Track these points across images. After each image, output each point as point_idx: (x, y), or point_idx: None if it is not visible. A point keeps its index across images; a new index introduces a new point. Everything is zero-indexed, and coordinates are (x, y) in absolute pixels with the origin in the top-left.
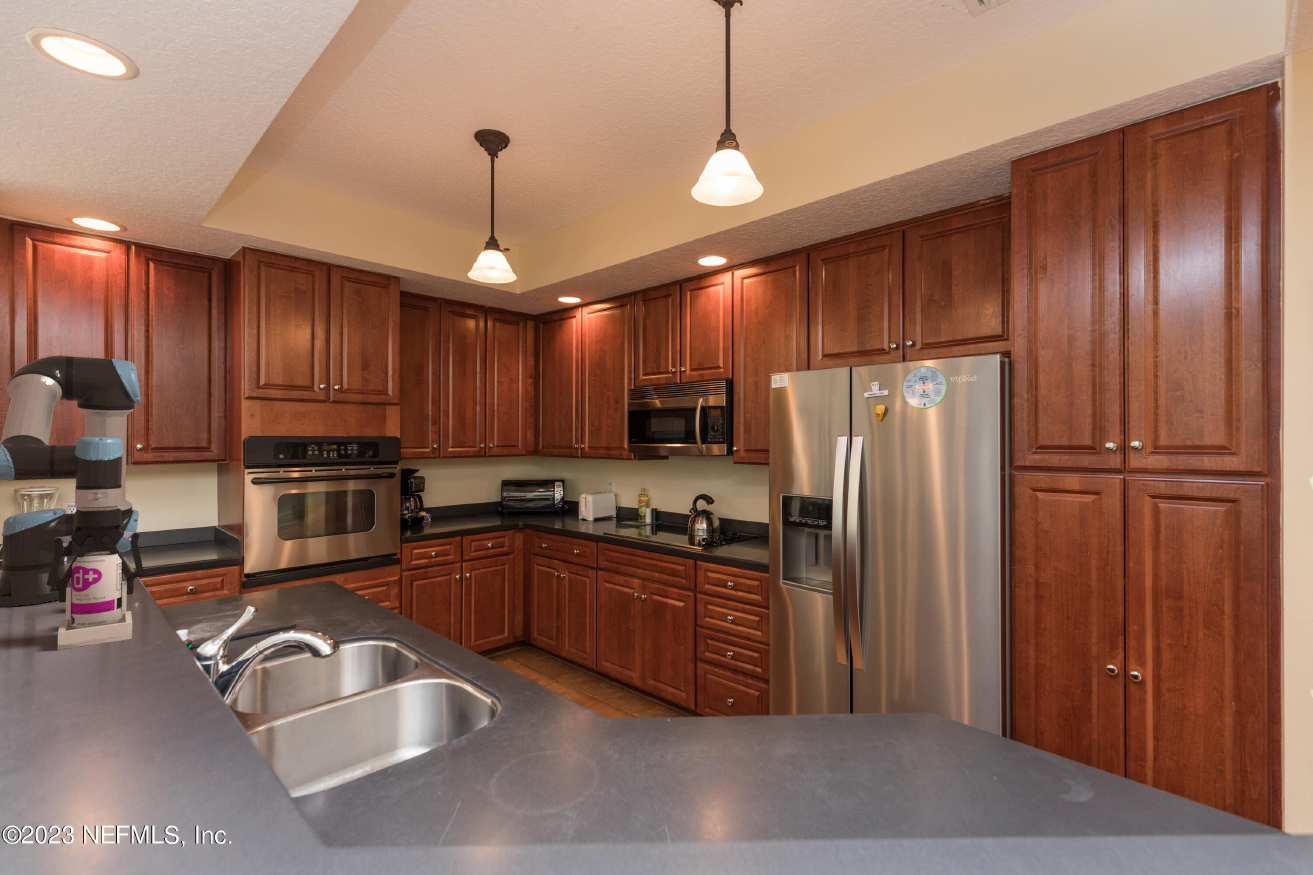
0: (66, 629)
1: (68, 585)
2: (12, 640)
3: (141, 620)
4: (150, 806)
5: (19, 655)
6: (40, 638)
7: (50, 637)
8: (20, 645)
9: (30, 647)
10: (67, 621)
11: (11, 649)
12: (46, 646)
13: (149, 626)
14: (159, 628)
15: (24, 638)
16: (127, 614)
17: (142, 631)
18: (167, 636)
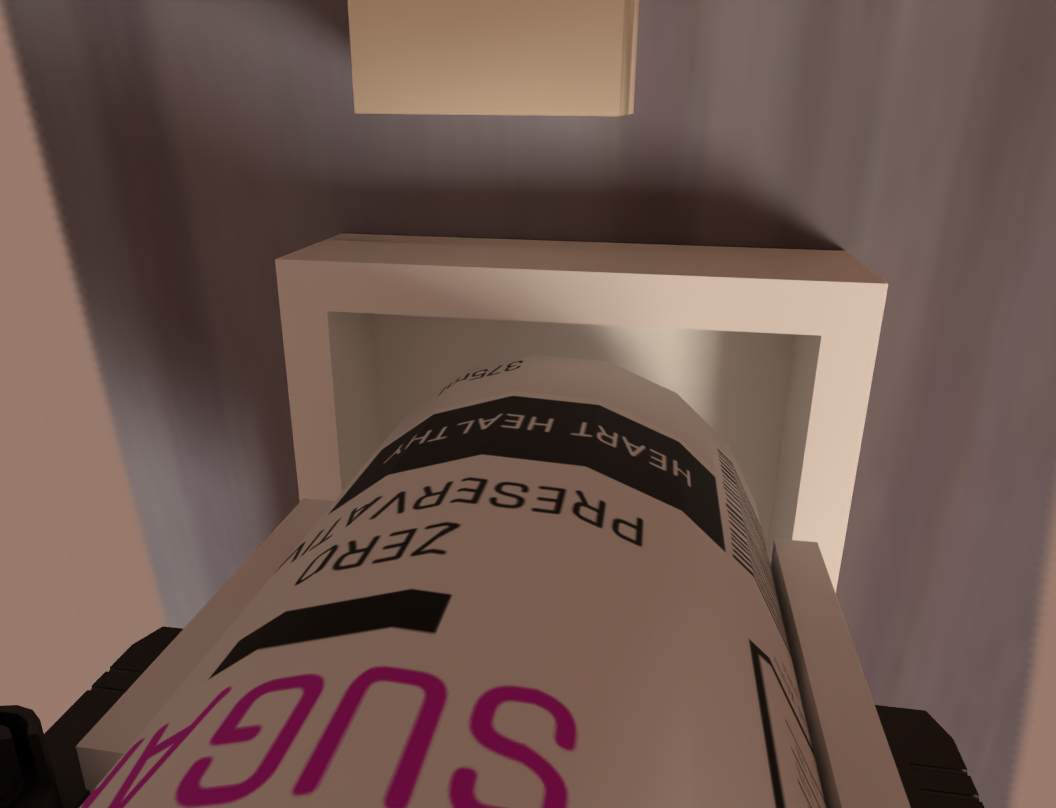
0: (359, 458)
1: (101, 770)
2: (36, 118)
3: (984, 41)
4: None
5: (193, 599)
6: (212, 199)
7: (274, 218)
8: (134, 337)
9: (207, 444)
10: (332, 315)
11: (110, 414)
12: (295, 489)
13: (976, 382)
14: (1022, 516)
15: (101, 107)
16: (823, 451)
17: (886, 521)
18: (994, 786)
